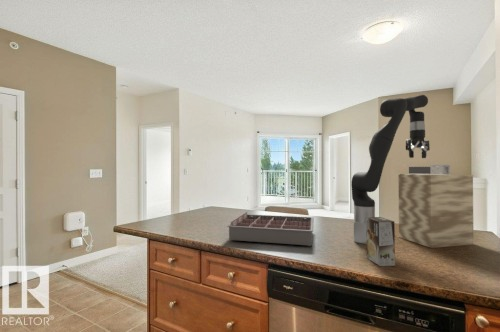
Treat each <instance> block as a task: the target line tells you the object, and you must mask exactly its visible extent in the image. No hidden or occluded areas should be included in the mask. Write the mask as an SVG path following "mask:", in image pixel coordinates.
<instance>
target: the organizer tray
mask: <svg viewBox="0 0 500 332" xmlns="http://www.w3.org/2000/svg"><path fill="white" fill-rule="evenodd" d="M314 218H315V217H313V216H293V215H292V216H290V215H289V216H288V215H266V214H248V211H246V212H244V213H242V214H241V215H239V216H238V217H236V218H234V219H233V220H232V221H230V224H228V226H226V227H227V228H228V239H229V241H241V242H242V241H244V242H257V243H268V244H283V245H295V246H296V245H298V246H299V245H300V246H312V244H313V241H312V240H313V239H312V238H313V232H314Z"/></svg>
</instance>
